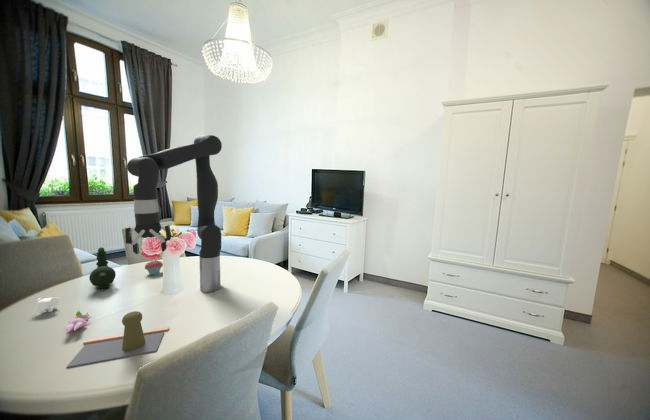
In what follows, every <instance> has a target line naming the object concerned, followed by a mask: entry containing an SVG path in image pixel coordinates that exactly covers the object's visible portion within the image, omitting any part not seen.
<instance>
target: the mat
mask: <svg viewBox="0 0 650 420" xmlns="http://www.w3.org/2000/svg"><path fill="white" fill-rule="evenodd" d="M164 334H165V331H163V332H156V333H150V334H144V338H145V344H144V345H143V346H142V347H140V348H139V349H136V350H133V351H123V350H122V346H123V338H119V339H113V340H106V341H100V342H94V343H88V344H84V345H83V347H82V348H81V349H80V350H79V352H78V353H77V354H76V355H75V356H74V357H73V359H71V361H69V363H68V364H67V366H66V369H68V368H74V367H80V366H84V365H91V364H96V363H101V362H106V361H107V362H108V361H113V360H117V359H124V358H129V357H134V356H139V355H144V354H146V355H147V354H149V353H156V352H157V351H158V349H159V347H160V344H161V341H162V339H163V337H164Z"/></svg>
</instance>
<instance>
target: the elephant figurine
mask: <svg viewBox="0 0 650 420" xmlns="http://www.w3.org/2000/svg"><path fill="white" fill-rule="evenodd" d="M59 302H60V299H59V298H58V297H56V296H53V297H46V298H42V297H39V298H37V300H36V301H35V303H34V305H35V306H36V312H38V313H40V314H44V313H47V312H48V313H51V312H53V310H57V309H58V305H59Z"/></svg>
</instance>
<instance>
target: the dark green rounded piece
mask: <svg viewBox="0 0 650 420" xmlns="http://www.w3.org/2000/svg"><path fill="white" fill-rule="evenodd" d="M106 254H107V252H106V250H105V248H104V247H99V248H98V249H97V252H96V255H97V257H95V259H96V260H97V261H96V263H95V265H96V268H94V269H93V270H92V271H91V273H90V274H89V278H88V279H89V282H90V284H91V285H93V286H94V287H97V288H96V289H97V290H98V291H106V290H108V289H109V288H110V284H113V282H114V280H115V279H116V271H115V270H114V268H113V267H110V266H109V261H108V260H107V259H108V256H107V255H106Z"/></svg>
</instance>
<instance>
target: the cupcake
mask: <svg viewBox="0 0 650 420" xmlns="http://www.w3.org/2000/svg"><path fill="white" fill-rule="evenodd" d="M162 267H164V265H163V262H162V261H160V260H157V256H156V257H155V256H154V260H151V261H149V262H147V263H146V264H145V266H144V269H145V270H147V272H148V274H149V275H151V276H152V275H157V274H160V271H161V269H162Z"/></svg>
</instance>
